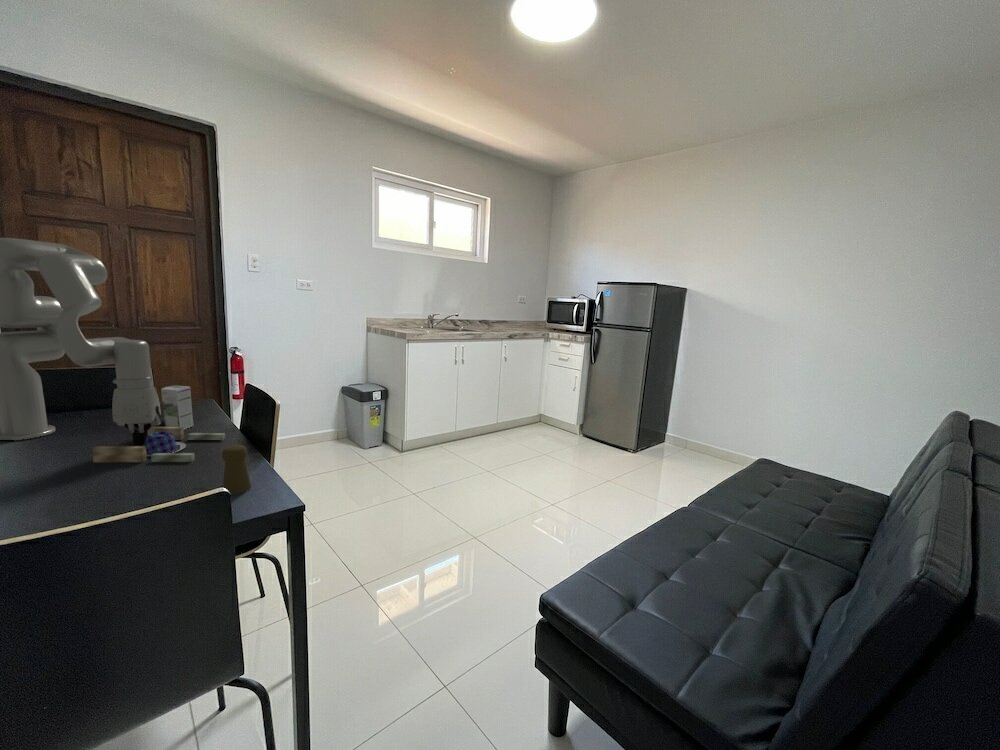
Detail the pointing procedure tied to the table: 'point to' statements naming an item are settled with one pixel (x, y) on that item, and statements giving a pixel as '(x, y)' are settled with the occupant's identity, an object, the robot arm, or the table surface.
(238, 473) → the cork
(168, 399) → the syrup box
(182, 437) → the channel
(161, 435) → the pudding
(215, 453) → the table surface
